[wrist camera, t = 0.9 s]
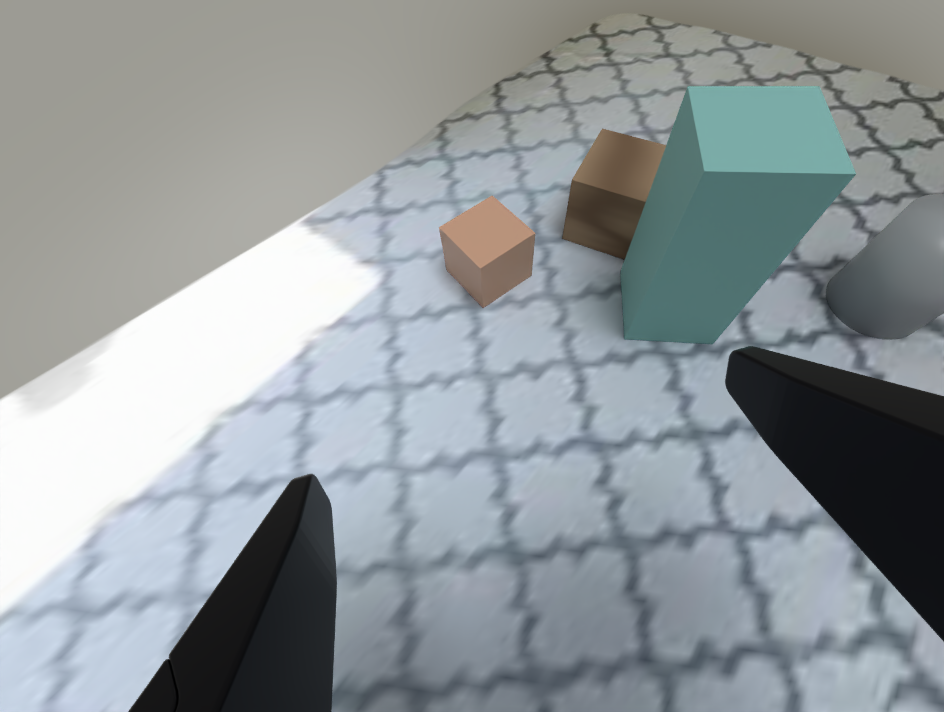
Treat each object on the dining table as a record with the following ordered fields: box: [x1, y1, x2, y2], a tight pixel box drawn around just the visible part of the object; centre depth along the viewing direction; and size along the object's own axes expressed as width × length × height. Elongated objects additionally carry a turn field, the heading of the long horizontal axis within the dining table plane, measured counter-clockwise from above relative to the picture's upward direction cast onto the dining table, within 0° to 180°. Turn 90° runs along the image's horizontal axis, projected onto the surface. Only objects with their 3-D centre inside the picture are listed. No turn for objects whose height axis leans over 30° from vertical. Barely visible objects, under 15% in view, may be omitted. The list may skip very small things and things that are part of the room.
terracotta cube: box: [439, 196, 535, 308], centre depth 28 cm, size 4×4×4 cm
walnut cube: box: [562, 129, 666, 260], centre depth 29 cm, size 5×5×5 cm
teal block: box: [620, 86, 856, 344], centre depth 22 cm, size 5×5×12 cm
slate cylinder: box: [826, 194, 944, 340], centre depth 24 cm, size 5×5×6 cm
